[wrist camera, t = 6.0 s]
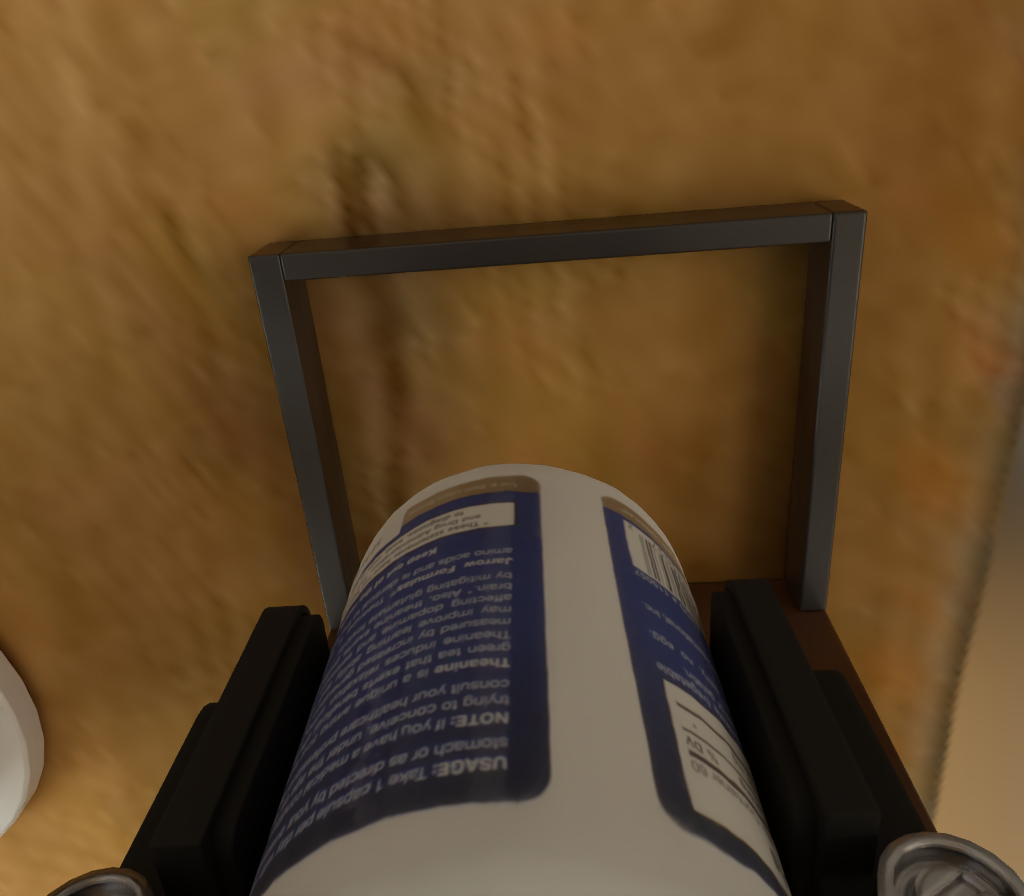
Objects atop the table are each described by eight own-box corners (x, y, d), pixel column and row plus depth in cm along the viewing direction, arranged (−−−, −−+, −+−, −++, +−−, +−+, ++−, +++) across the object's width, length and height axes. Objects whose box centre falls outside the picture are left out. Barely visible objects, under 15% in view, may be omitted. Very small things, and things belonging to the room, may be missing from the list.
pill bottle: (337, 693, 14) (27, 1716, 5) (384, 419, 12) (-11, 1385, 3) (632, 747, 15) (801, 1775, 6) (730, 492, 12) (1242, 1522, 4)
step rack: (268, 242, 19) (-85, 466, 8) (844, 198, 18) (1264, 389, 7) (393, 841, 27) (296, 1321, 17) (786, 833, 26) (941, 1337, 16)
